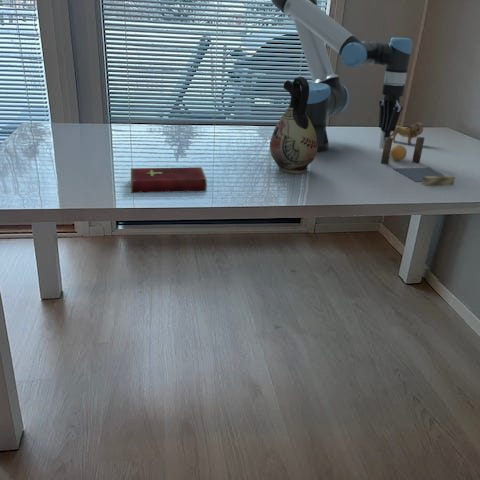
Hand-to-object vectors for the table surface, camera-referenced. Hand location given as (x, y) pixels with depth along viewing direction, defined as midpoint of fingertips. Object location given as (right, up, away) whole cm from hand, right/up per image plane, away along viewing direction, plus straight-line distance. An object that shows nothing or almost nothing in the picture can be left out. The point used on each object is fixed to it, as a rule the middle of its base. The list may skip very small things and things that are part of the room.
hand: (383, 148), depth 185 cm
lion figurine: (+14, +6, +18) cm, 24 cm away
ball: (+3, -3, -9) cm, 10 cm away
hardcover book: (-76, -20, -43) cm, 89 cm away
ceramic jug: (-37, -12, -25) cm, 47 cm away
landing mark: (+6, -13, -23) cm, 27 cm away
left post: (-3, -8, -12) cm, 15 cm away
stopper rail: (+8, -17, -32) cm, 37 cm away
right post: (+9, -7, -9) cm, 15 cm away
